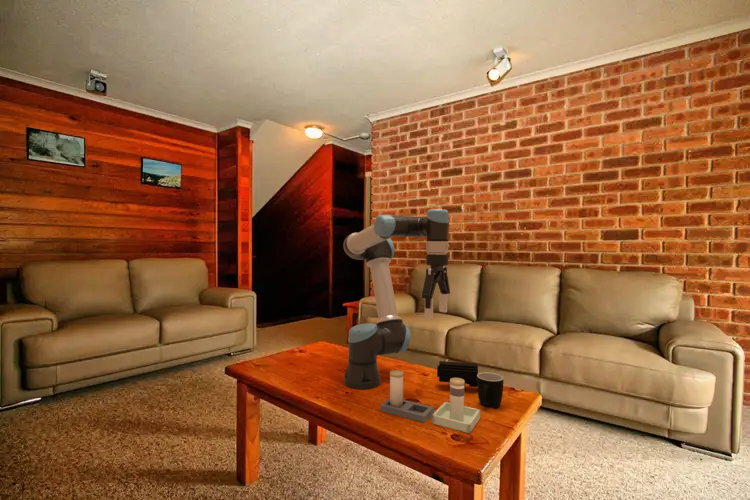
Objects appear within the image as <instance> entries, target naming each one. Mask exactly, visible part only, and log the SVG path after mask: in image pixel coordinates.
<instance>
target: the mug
mask: <svg viewBox="0 0 750 500" xmlns="http://www.w3.org/2000/svg"><path fill="white" fill-rule="evenodd" d="M477 390H478V392H477V396H478V397H477V398H478V401H479V404H480V405H481V406H482V407H486V408H490V409H494V410H495V409H498V408H500V406H501V403H502V400H503V392H504V377H503V376H502V375H501V374H498V373H494V372H490V371H489V372H488V371H487V372H485V371H484V372H478V375H477V387H476V391H477Z"/></svg>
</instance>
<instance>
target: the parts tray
mask: <svg viewBox="0 0 750 500" xmlns="http://www.w3.org/2000/svg"><path fill="white" fill-rule="evenodd" d="M480 419H481V409H478V408H473V407H469V406H466V405H464V421H463V422H461V421H457V420H453V419H450V401H449V402H448V401H444V402H443V403H442V404H441V405H440V406H439V407H438V408H437V409H436V410H434V413H433V415H432V416H431V424H433V425H436V426H440V427H444V428H447V429H450V430H455V431H458V432H463V433H466V434H471V432H472V431H473V429H474V428H475V427H476V425H477V424H478V422H479V420H480Z"/></svg>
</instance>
